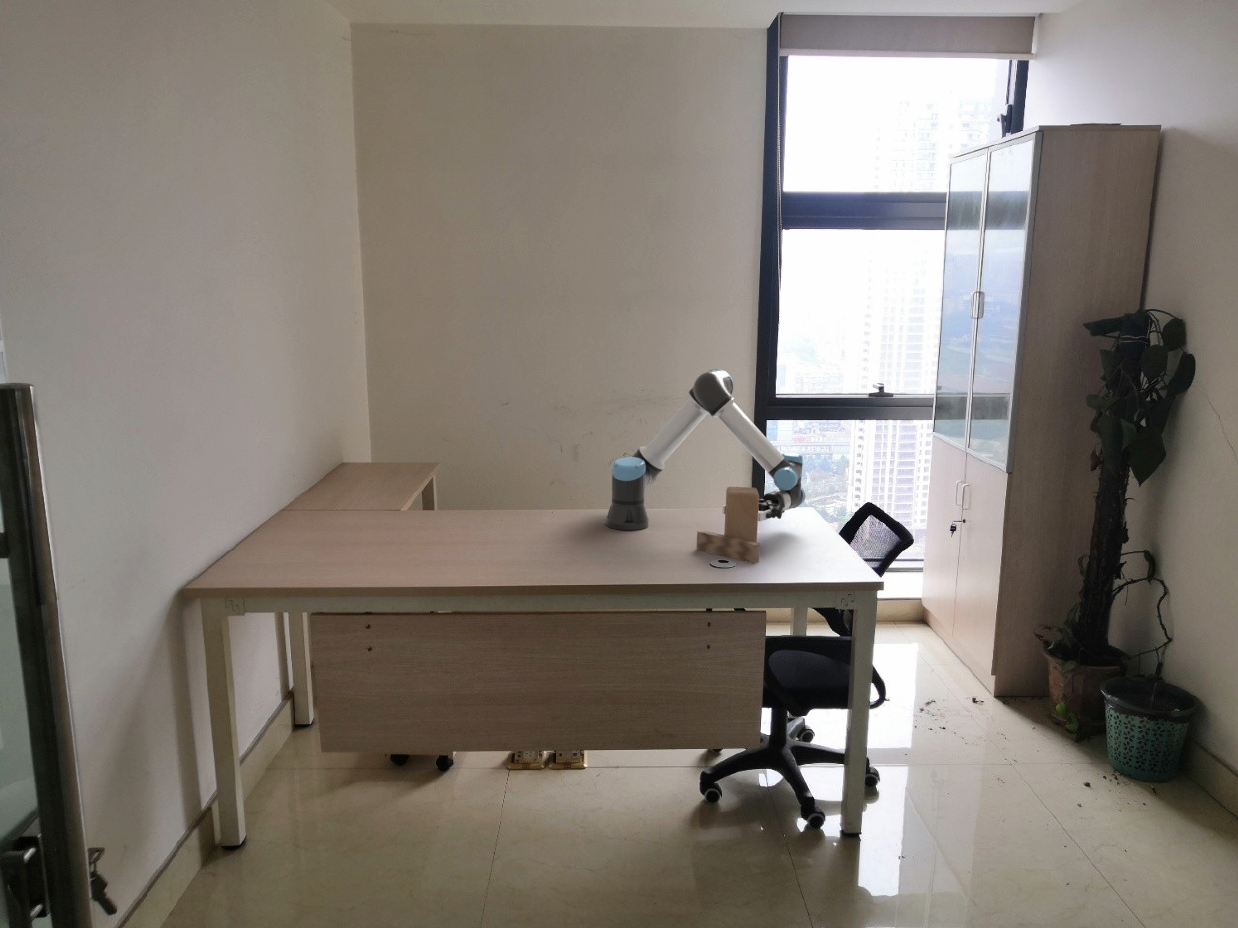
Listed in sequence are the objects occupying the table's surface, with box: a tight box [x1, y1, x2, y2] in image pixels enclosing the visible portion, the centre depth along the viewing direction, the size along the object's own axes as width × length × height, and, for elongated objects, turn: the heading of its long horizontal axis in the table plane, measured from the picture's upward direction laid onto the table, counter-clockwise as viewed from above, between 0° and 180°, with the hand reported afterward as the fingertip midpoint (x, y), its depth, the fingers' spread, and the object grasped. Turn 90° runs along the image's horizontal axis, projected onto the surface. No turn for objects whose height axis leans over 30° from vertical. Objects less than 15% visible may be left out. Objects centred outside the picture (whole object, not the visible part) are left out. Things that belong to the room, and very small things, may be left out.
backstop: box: [696, 529, 761, 565], centre depth 284 cm, size 22×2×6 cm, turn 50°
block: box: [723, 486, 760, 543], centre depth 289 cm, size 10×10×20 cm
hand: (741, 513), depth 289 cm, fingers open, 13 cm apart
